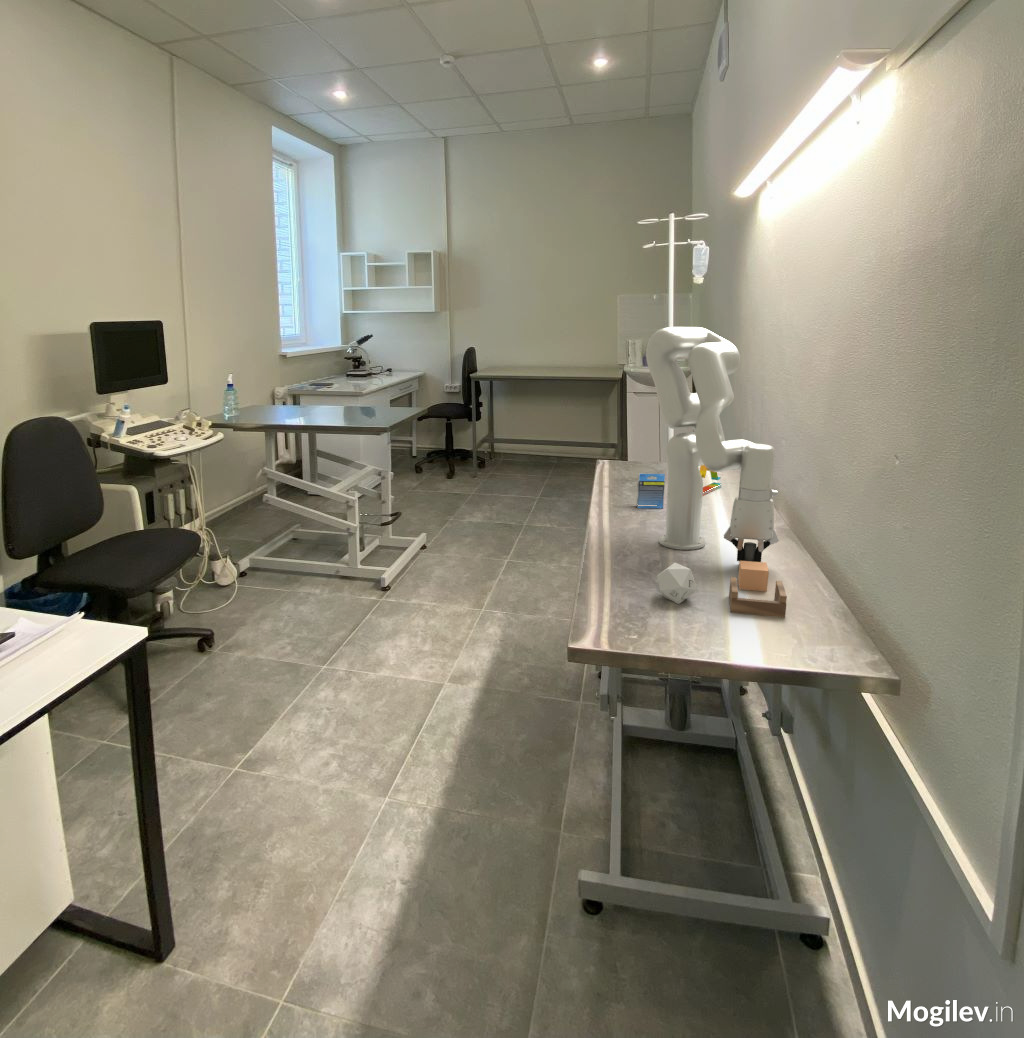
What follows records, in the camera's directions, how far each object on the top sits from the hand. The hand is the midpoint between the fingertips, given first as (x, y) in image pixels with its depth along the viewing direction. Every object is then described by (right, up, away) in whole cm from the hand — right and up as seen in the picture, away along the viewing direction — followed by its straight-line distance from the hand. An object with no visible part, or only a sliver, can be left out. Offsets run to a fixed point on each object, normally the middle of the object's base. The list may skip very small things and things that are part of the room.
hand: (748, 563), depth 167 cm
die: (-24, -7, -20) cm, 32 cm away
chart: (+10, +20, +77) cm, 81 cm away
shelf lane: (-7, -8, -24) cm, 26 cm away
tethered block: (-2, -3, -7) cm, 8 cm away
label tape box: (-13, +15, +60) cm, 63 cm away
